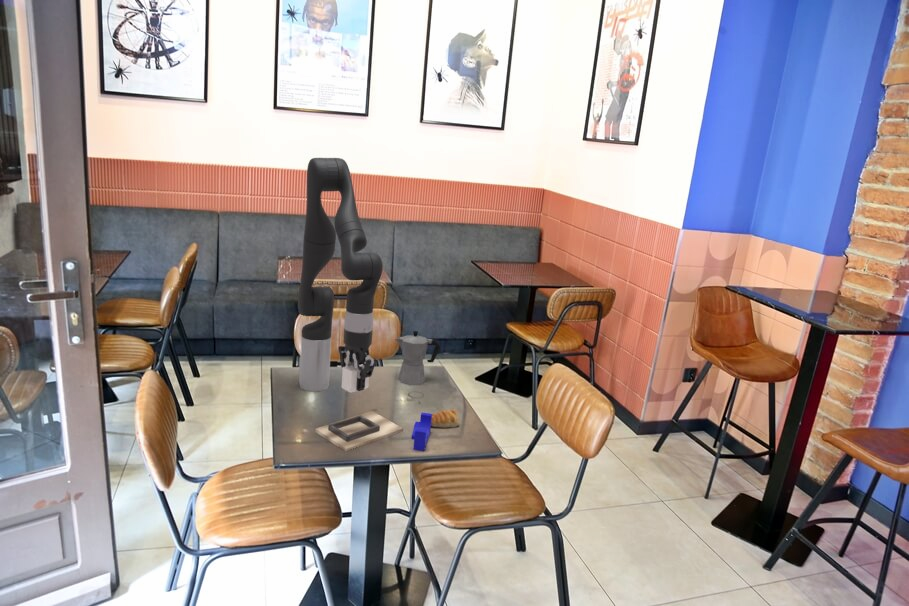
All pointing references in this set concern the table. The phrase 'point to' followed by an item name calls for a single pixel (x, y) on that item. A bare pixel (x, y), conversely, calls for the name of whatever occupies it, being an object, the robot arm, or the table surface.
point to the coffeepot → (415, 357)
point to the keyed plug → (351, 378)
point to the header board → (358, 430)
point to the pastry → (445, 419)
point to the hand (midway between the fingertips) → (355, 387)
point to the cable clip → (422, 431)
